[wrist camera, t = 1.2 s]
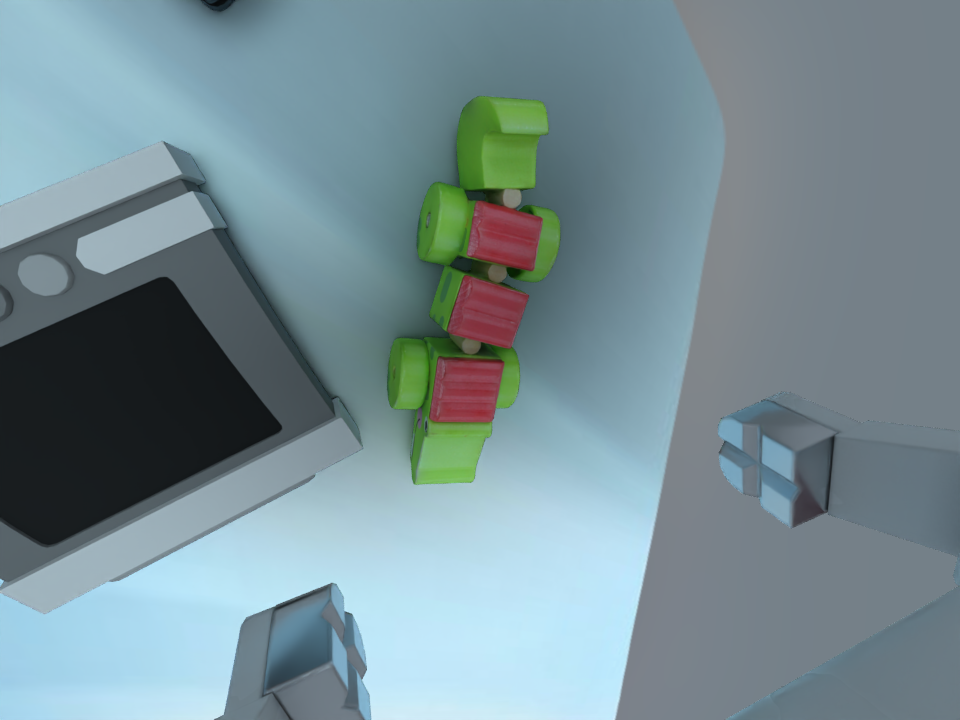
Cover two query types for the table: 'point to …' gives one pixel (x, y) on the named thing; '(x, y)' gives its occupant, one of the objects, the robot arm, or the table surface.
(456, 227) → the toy crocodile
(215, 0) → the end cap
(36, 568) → the alarm clock
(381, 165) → the table surface
